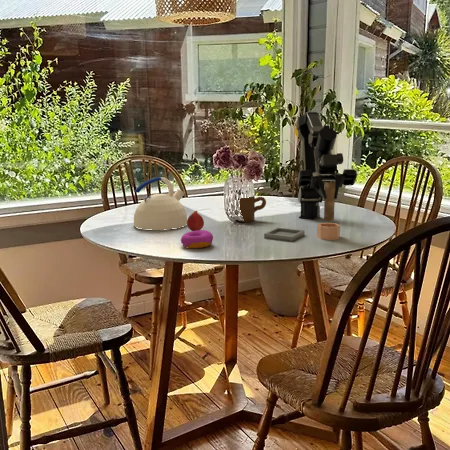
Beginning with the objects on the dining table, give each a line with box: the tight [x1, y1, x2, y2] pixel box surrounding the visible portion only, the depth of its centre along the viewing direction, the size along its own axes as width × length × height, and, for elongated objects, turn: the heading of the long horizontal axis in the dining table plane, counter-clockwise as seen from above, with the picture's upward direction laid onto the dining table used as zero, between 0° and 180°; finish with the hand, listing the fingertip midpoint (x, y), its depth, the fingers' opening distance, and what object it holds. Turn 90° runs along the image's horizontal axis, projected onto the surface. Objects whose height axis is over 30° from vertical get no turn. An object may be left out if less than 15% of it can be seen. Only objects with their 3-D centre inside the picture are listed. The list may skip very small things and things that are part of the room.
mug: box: [240, 195, 267, 223], centre depth 200 cm, size 12×8×9 cm, turn 90°
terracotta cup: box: [316, 222, 341, 241], centre depth 172 cm, size 7×7×4 cm
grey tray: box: [263, 227, 305, 243], centre depth 174 cm, size 10×10×2 cm
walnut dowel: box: [323, 181, 336, 222], centre depth 170 cm, size 3×3×12 cm
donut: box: [180, 229, 214, 249], centre depth 166 cm, size 10×10×4 cm
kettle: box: [133, 176, 188, 230], centre depth 194 cm, size 20×21×18 cm
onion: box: [187, 210, 205, 232], centre depth 182 cm, size 6×6×8 cm
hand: (330, 198), depth 168 cm, fingers closed on walnut dowel, 3 cm apart
